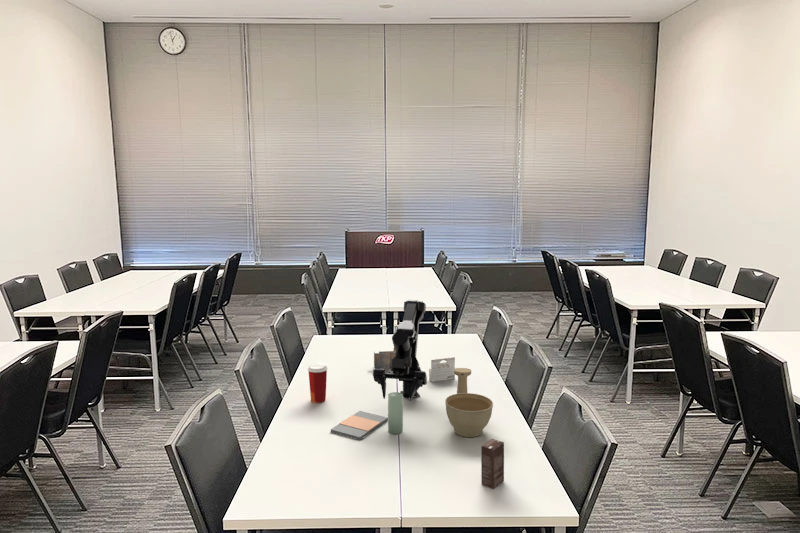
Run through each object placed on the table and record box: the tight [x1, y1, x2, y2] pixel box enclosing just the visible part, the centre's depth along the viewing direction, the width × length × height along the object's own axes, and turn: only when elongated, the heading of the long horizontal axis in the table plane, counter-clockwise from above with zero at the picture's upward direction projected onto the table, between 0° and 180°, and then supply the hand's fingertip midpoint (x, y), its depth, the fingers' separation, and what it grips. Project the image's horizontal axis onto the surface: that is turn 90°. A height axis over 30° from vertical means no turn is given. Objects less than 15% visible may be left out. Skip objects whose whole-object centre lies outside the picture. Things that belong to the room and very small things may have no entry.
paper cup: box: [307, 362, 328, 404], centre depth 228 cm, size 8×8×14 cm
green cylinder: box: [387, 391, 404, 435], centre depth 201 cm, size 5×5×13 cm
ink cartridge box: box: [428, 357, 456, 382], centre depth 251 cm, size 2×11×10 cm, turn 108°
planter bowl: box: [444, 392, 494, 438], centre depth 201 cm, size 16×16×11 cm
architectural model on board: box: [373, 348, 396, 370], centre depth 266 cm, size 11×3×10 cm, turn 97°
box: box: [480, 438, 505, 490], centre depth 168 cm, size 6×4×12 cm
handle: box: [454, 367, 472, 394], centre depth 220 cm, size 5×6×15 cm
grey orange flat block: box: [330, 410, 388, 441], centre depth 206 cm, size 18×12×1 cm, turn 150°
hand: (397, 399), depth 204 cm, fingers open, 9 cm apart
